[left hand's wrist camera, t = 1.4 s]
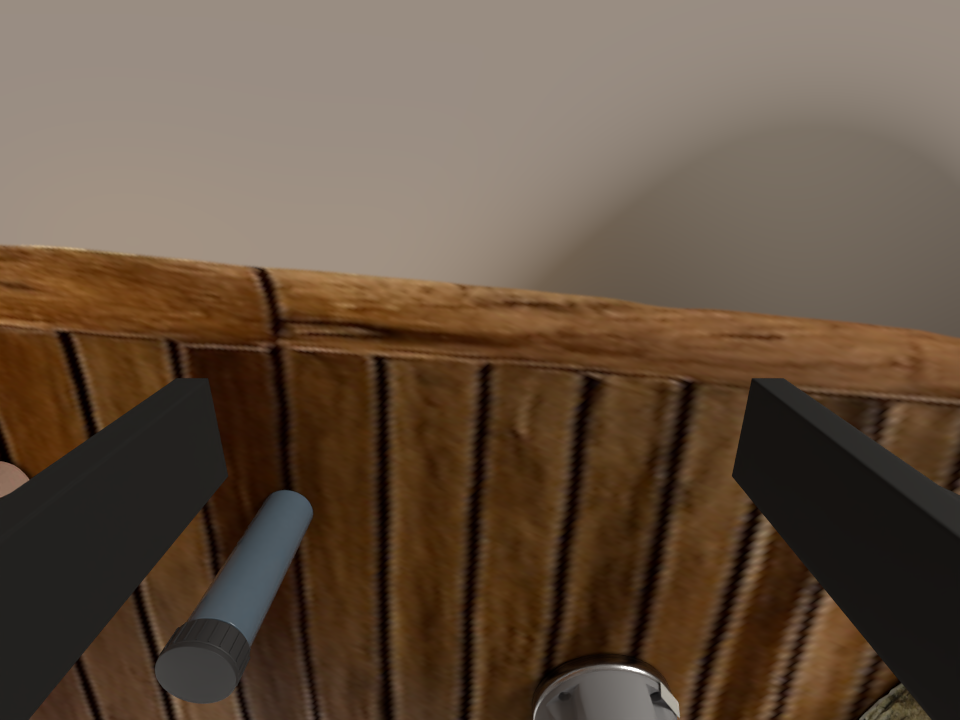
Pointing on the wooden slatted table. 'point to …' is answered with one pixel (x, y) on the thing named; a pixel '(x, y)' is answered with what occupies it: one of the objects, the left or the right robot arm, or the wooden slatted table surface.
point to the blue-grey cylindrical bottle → (257, 564)
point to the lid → (203, 661)
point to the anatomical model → (10, 478)
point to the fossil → (896, 707)
